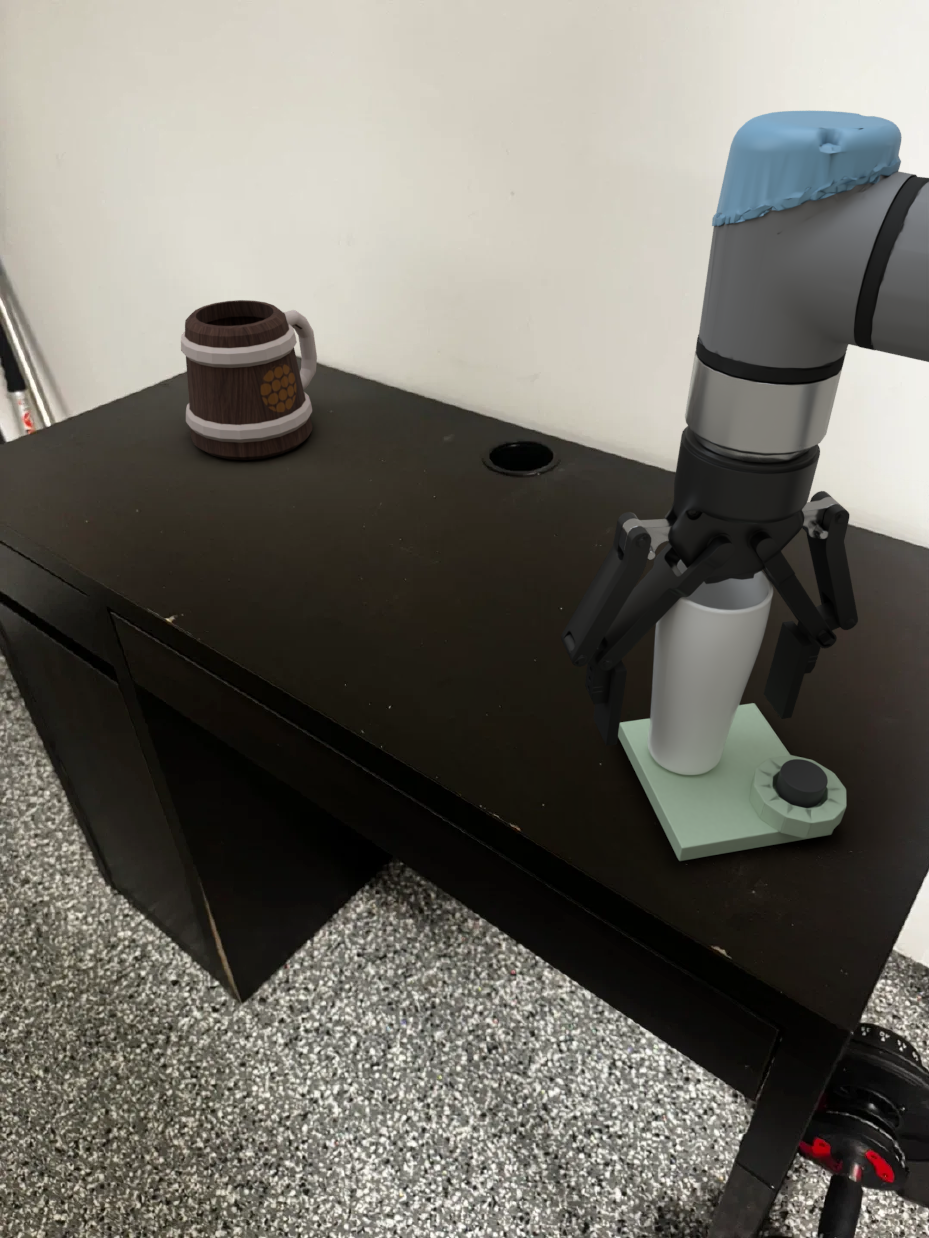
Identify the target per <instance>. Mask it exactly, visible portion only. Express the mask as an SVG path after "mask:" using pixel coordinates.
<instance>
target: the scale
mask: <svg viewBox="0 0 929 1238" xmlns="http://www.w3.org/2000/svg"><path fill="white" fill-rule="evenodd" d="M649 724H650V717H648V718H643V719H635V720H628V721H623V722H621V721H620V725H619V732H618V740H619V741H620V743H621V745H622V747H623V749H624V752H625V754H626V756H627V758H628V761H630V764H631V765H632V768H633V770H634V771H635V774H636V776H637V778H638V780H639V782H640V785H641V786H642V788H643V790H644V792H645V794H646V797H647V798H648V801H649V803H650V805H651V808H652V809H653V811H654V813H655V815H656V818H657V819H658V821H659V823H660V825H661V827H662V829H663V831H664V833H665V835H666V837H667V839H668V841H669V844H670V845H671V847H672V849H673V851H674V854H675V856H676V858H677V860H678V861H679V862H683V861H689V860H694V859H699V858H705V857H706V858H707V857H712V856H716V855H717V856H718V855H723V854H728V853H735V852H739V851H740V852H741V851H746V850H752V849H757V848H763V847H769V846H773V845H774V846H775V845H780V844H786V843H792V842H797V841H802V840H809V839H814V838H820V837H826V836H831V835H832V834H833V832H834V829H836V828H837V826H839V825H840V824H841V822H842V820H843V817H844V814H845V812H846V810H847V788H846V787H845V785H844V784H843V783H842V782H841V780H840V778H838V776H837V775H836V773H834V772H833V771H832V770H830V769H828V768H827V767H825V766H823V765H822V764H820V763H818V762H817V761H815V760H813V759H809V758H807V757H800V756H797V755H792V754H791V753H790V752H789V751H788V750H787V748H786V746H785V745H784V744H783V743H782V741H781V739H780V738H779V736H778V735H777V734H776V732H775V731H774V729H773V728H772V726H771V725H770V723H769V722H768V720H767V719H766V717H765V716H764V714H762V712H761V711H760V709H759V708H758V706H757V704H756V703H755V702H754V703H753V702H751V703H745V704H739V706H738V709H737V712H736V714H735V717H734V720H733V722H732V725H731V728H730V731H729V734H728V736H727V739H726V743H725V747H724V751H723V755H722V757H721V760H720V761H719V763H718V764H717V765H716V766H715V767H714V768H713V769H712V770H710V771H708V772H706V773H703V774H699V775H682V774H677V773H674V772H671V771H669V770H667V769H665V768H663V767H662V766H661V765H659V764H658V763H657V762H656V761H655V760H654V759H653V757H652V756H651V754H650V752H649V750H648V746H647V736H648V730H649ZM793 759H802V760H807V761H810V762H812V763H814V764H816V765H818V766H819V767H820V768H821V769H822V770H823V771H824V772H825V774H826V776H827V779H828V783H827V786H826V789H825V792H824V795H823V798H822V800H821V802H820V803H819V804H818V805H816V806H814V807H810V808H803V807H798V806H794V805H791V804H789V803H788V802H786V801H785V800H783V799H782V798H781V797H780V795H779V794H778V792H777V789H776V782H777V779H778V776H779V773H780V769H781V767H782V765H783V764H784V763H785V762H787V761H789V760H793Z"/></svg>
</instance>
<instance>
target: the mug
mask: <svg viewBox="0 0 929 1238" xmlns="http://www.w3.org/2000/svg"><path fill="white" fill-rule="evenodd" d="M295 332H296V333H295ZM296 334H297V335H298V342H297V336H296ZM297 343H299V349H300V350H299V351H300V356H301V361H300V362H301V363H300V368H299V364H298V360H297V354H296V350H295V346H296V344H297ZM180 351H181V353H182V354H183V355H184V356H185V366H186V377H187V379H186V380H187V390H188V403H187V404H186V409H185V422H186V424H187V426H189V430H190V431H189V432H190V440H191V441H192V442H193V444H194V446H196V448H198V449H200V450H201V451H203V452H204V453H206V454H208V455H211V456H213V457H217V458H221V459H225V460H235V461H236V460H237V461H252V460H260V459H261V460H262V459H267V458H271V457H276V456H280V455H283V454H285V453H287V452H290V451H292V450H295V449H296V448H297V447H299V446H300V445H301V444H303V443H304V442H305V441H306V440H307V439H308V438H309V436H310V434H311V433H312V431H313V424H312V418H311V415H312V413H313V407H312V402H311V398H310V396H309V395H308V394H307V393H306V392H305V389H307V388H308V387H309V385H310V383H311V381H312V380H313V378H314V376H315V374H316V373H317V363H318V355H317V346H316V340H315V333H314V330H313V328H312V326H311V324H310V322H309V321H308V318H307V317H306V316H304V315H303V314H302V313H300V312H299V311H297V310H295V309H291V310H287V311H283V310H282V309H280V308H278V307H277V306H276V305H274V304H271V303H268V302H265V301H260V300H259V301H258V300H250V299H249V300H247V299H245V300H244V299H235V300H226V301H219V302H213V303H211V304H207V305H202V306H201V307H198V308H197V309H195V310H193V312H192V313H190V315H189V316H188V317H187V318H186V319H185V321H184V331H183V332H182V334H181V336H180Z"/></svg>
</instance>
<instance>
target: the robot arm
mask: <svg viewBox="0 0 929 1238" xmlns="http://www.w3.org/2000/svg"><path fill="white" fill-rule="evenodd" d="M901 145H902V132H901V130H900V128H899V127H898V126H897V124H895V122H893V121H891V120H889V119H886V118H884V117H880V116H875V115H874V116H873V115H862V114H860V113H856V112H847V111H836V110H835V111H833V110H785V111H774V112H768V113H764V114H760V115H757V116H754V117H752V118H750V119H749V120H747V121H746V122H745V123H744V124H743V125H741V127H739V128H738V130H737V131H736V133H735V135H734V136H733V138H732V141H731V143H730V146H729V152H728V156H727V161H726V166H725V170H724V175H723V179H722V183H721V188H720V193H719V198H718V203H717V207H716V212H715V213H714V214H713V216H712V219H711V227H713V229H712V238H711V245H710V251H709V259H708V264H707V271H706V272H707V273H706V280H705V287H704V294H703V301H702V307H701V315H700V322H699V329H698V331H699V332H698V335H697V337H696V345H695V351H694V356H693V363H692V369H691V376H690V383H689V386H688V387H689V388H688V395H687V400H686V407H685V412H684V420H685V424H686V425H687V426H686V427H685V428H684V429H683V430H682V433H681V437H680V442H679V450H678V455H677V462H676V467H675V474H674V480H673V481H674V483H673V502H672V504H671V506H670V507H669V508H670V509H669V510H668V512H667V513H666V514H665V515H664V517H663V518H659V519H658V518H657V519H639V518H638V517H637V515H636V513H634V512H631V511H627V512H624V513H622V514H621V515H620V516H619V517H618V518H617V521H616V526H615V532H614V536H613V541H612V546H611V548H610V550H609V552H608V553H607V555H606V556H605V559H604V560H603V562H602V564H601V565H600V567H599V569H598V570H597V572H596V574H595V576H594V577H593V579H592V581H591V583H590V584H589V586H588V588H587V589H586V591H585V593H584V595H583V596H582V598H581V600H580V602H579V603H578V605H577V607H576V609H575V610H574V612H573V613H572V615H571V617H570V619H569V621H568V623H567V624H566V626H565V628H564V629H563V630H562V633H561V635H560V640H561V642H562V645H563V647H564V649H565V652H566V653H567V656H568V658H569V659H570V661H571V663H572V665H573V666H575V667H577V668H580V667H581V668H582V667H584V666H586V674H585V682H584V686H585V688H586V691H587V693H588V696H589V697H590V699H591V702H592V704H593V705H594V710H593V721H594V723H595V725H596V728H597V730H598V732H599V734H600V736H601V738H602V740H603V742H604V744H605V746H615V745H618V740H619V737H618V732H619V725H620V723H621V717H622V709H623V704H624V703H623V702H624V696H625V689H626V682H627V674H628V669H627V667H626V666H625V663H624V662H623V659H624V657H625V656H626V655H628V653H629V652H630V651H631V650H632V649H633V648H634V647H636V645H637V644H638V643H639V642H640V641H641V640H642V639H643V638H644V637H645V636H646V635H647V634H648V632H650V630H652V628H653V627H655V626H656V623H657V622H658V621H659V620H660V619H661V618H662V617H663V616H664V614H665V613H666V612H667V611H668V610H669V609H670V608H671V607H672V606H673V605H674V604H675V603H676V602H677V601H678V600H679V599H680V598H681V597H689V596H690V595H691V594H692V593H693V592H694V591H695V590H696V589H697V588H698V587H699V586H700V585H701V584H702V583H703V582H705V583H706V584H712V583H718V582H721V581H724V580H727V579H731V578H732V579H740V580H744V579H752V578H754V574H756V573H758V572H760V571H763V572H764V573H765V574H766V575H767V576H768V578H769V579H770V581H771V583H772V586H773V588H775V589H776V591H777V592H778V594H779V595H780V598H782V601H784V603H785V605H786V606H787V607H788V609H789V610H790V612H791V613H792V614H793V616H794V618H795V619H796V620H797V624H796V623H795V621H794V620H788V621H782V623H781V627H780V631H779V635H778V638H777V642H776V646H775V649H774V653H773V657H772V660H771V665H770V668H769V671H768V675H767V679H766V683H765V687H764V691H763V695H764V697H765V698H766V700H767V701H768V703H769V704H770V706H771V707H772V708H773V709H774V711H775V712H776V714H777V715H778V716H779V718H780V719H781V720H786V719H787V720H788V719H792V717H793V714H794V712H795V711H794V710H795V707H796V704H797V701H798V698H799V694H800V691H801V687H802V684H803V680H804V677H805V675H807V674H811V673H812V671H813V670H814V669H815V667H816V665H817V664H816V663H817V660H818V657H819V654H820V651H821V649H829V648H831V647H832V646H834V645H835V643H837V639H838V637H837V635H836V634H835V633H834V631H835V630H837V629H839V628H841V630H843V631H849V630H852V629H853V628H855V627H856V626H857V625H858V622H859V616H858V611H857V604H856V600H855V594H854V590H853V589H854V588H853V583H852V578H851V572H850V566H849V562H848V561H849V560H848V557H847V555H848V554H847V551H846V550H847V549H846V544H845V539H846V534H847V530H848V526H849V521H850V512H849V511H848V510H847V509H846V508H844V506H843V505H841V504H840V503H839V502H838V501H837V500H836V499H835V498H834V497H833V496H832V495H831V494H829V493H828V492H827V491H825V490H820V491H817V492H816V493H814V494H813V495H812V496H811V498H810V495H811V491H812V486H813V482H814V479H815V475H816V471H817V468H818V463H819V459H820V456H821V448H820V446H819V444H821V443H822V441H823V440H824V438H825V437H826V435H827V433H828V429H829V424H830V420H831V416H832V412H833V407H834V404H835V400H836V396H837V391H838V388H839V383H840V379H841V375H842V371H843V367H844V363H845V358H846V354H847V351H848V347H849V345H850V346H855V347H858V348H862V349H866V350H871V351H876V352H882V353H886V354H891V355H895V356H900V357H904V358H909V359H913V360H917V361H922V362H926V363H929V177H924V176H918V175H917V174H913V173H909V172H903V171H900V168H901V165H902V159H901V158H900V156H899V154H900V150H901V149H900V148H901ZM809 498H810V501H809ZM808 501H809V502H808ZM801 530H804V531H805V534H806V539H807V544H808V547H809V552H810V557H811V561H812V566H813V571H814V576H815V580H816V586H817V589H818V594H819V600H820V603H821V604H819V605H817V606H816V605H815V603H814V602H813V600H812V599H811V596H810V595H809V594H808V592H807V591H806V589H805V588H804V586H803V585H802V583H801V582H800V580H799V579H798V577H797V576H796V572H795V571H794V569H793V567H792V566H791V564H790V563H789V561H788V560H787V558H786V557H785V555H784V554H783V552H782V551H783V550H784V549H785V548H786V547H787V545H788V544H789V543H790V542H791V541H792V540H793V539H794V538H795V537H797V535H798V534H799V533H800V532H801ZM665 542H666V545H665V546H664V547H663V548H662V549H661V550H660V552H659V553H658V554H657V553H656V551H657V548H658V547H659V546H660V545H662V544H663V543H665ZM651 560H653V565H652V567H651V569H650V570H649V571H648V572H647V573H646V574H645V576H644V577H642V576H643V574H644V571H645V569H646V566H647V563H648V561H651ZM680 560H681V561H682V562H683V563H684V565H685V566H686V568H687V569H686V570H685V571H684V573H683V574H682V573H681V572H680V570H679V569H678V567H677V564H678V562H679V561H680ZM641 577H642V579H641V580H640V578H641ZM639 580H640V581H639Z"/></svg>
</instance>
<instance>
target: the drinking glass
mask: <svg viewBox="0 0 929 1238" xmlns="http://www.w3.org/2000/svg"><path fill="white" fill-rule="evenodd" d="M677 567H678V569H679V570H680V572H681V573H682V574H683V573H684V571H685V570H686V569H687V568H686V566H685V565H684V563H683V562H682V561H681V560H680V561H679V562H678V564H677ZM773 596H774V585H773V584H772V582H771V581H770V579H769V578H768V576H767V575H766V573H765V572H764V570H762V571H760V572H758V573H756V574H754V578H752V579H744V580H740V579H732V578H731V579H727V580H724V581H721V582H718V583H712V584H706V583H705V582H703V583H702V584H701V585H700V586H699V587H698V588H697V589H696V590H695V591H694V592H693V593H692V594H691V595H690V596H689V597H681V598H680V599H679V600H678V601H677V602H676V603H675V604H674V605H673V606H672V607H671V608H670V609H669V610H668V611H667V612H666V613H665V614H664V616H663V617H662V618H661V619H660V620H659V621H658V622H657V623H656V624H655V629H654V630H655V631H654V642H653V643H654V645H653V661H652V662H653V665H652V682H651V697H650V711H649V712H650V713H649V718H650V724H649V730H648V736H647V746H648V750H649V752H650V754H651V756H652V757H653V759H654V760H655V761H656V762H657V763H658V764H659V765H661V766H662V767H663V768H665V769H667V770H669V771H671V772H674V773H677V774H682V775H699V774H703V773H706V772H708V771H710V770H712V769H713V768H714V767H715V766H716V765H717V764H718V763H719V761H720V760H721V757H722V755H723V751H724V747H725V743H726V739H727V736H728V734H729V731H730V728H731V725H732V722H733V720H734V717H735V714H736V712H737V709H738V706H739V705H741V704H740V703H741V700H742V698H743V695H744V692H745V690H746V688H747V684H748V682H749V679H750V676H751V674H752V672H753V669H754V666H755V664H756V661H757V658H758V656H759V653H760V650H761V648H762V644H763V641H764V640H763V639H764V637H765V633H766V629H767V627H768V626H767V625H768V620H769V616H770V612H771V606H772V600H773Z"/></svg>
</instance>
